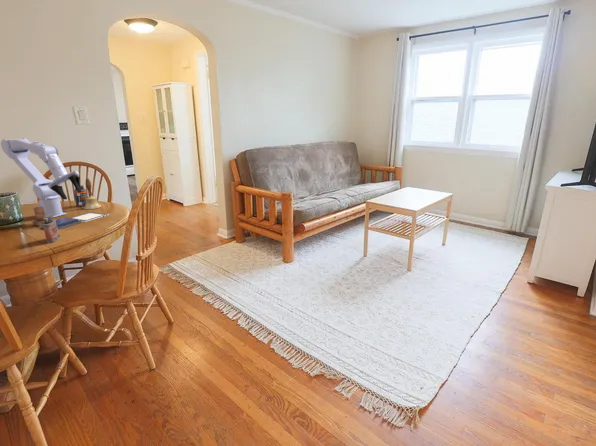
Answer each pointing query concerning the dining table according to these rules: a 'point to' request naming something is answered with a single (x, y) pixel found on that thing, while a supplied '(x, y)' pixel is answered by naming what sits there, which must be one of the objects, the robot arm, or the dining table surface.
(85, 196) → the supplement bottle
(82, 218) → the marked square
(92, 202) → the hand bell
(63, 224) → the ink pad
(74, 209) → the dining table surface
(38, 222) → the stamp
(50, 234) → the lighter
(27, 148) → the robot arm
